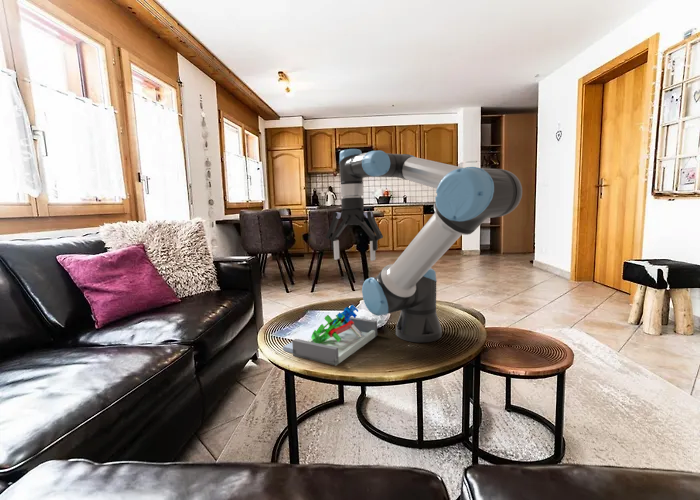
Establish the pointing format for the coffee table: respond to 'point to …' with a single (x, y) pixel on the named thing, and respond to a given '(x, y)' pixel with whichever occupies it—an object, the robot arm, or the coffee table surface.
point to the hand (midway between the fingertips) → (354, 259)
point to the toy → (337, 326)
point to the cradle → (336, 344)
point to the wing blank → (289, 347)
